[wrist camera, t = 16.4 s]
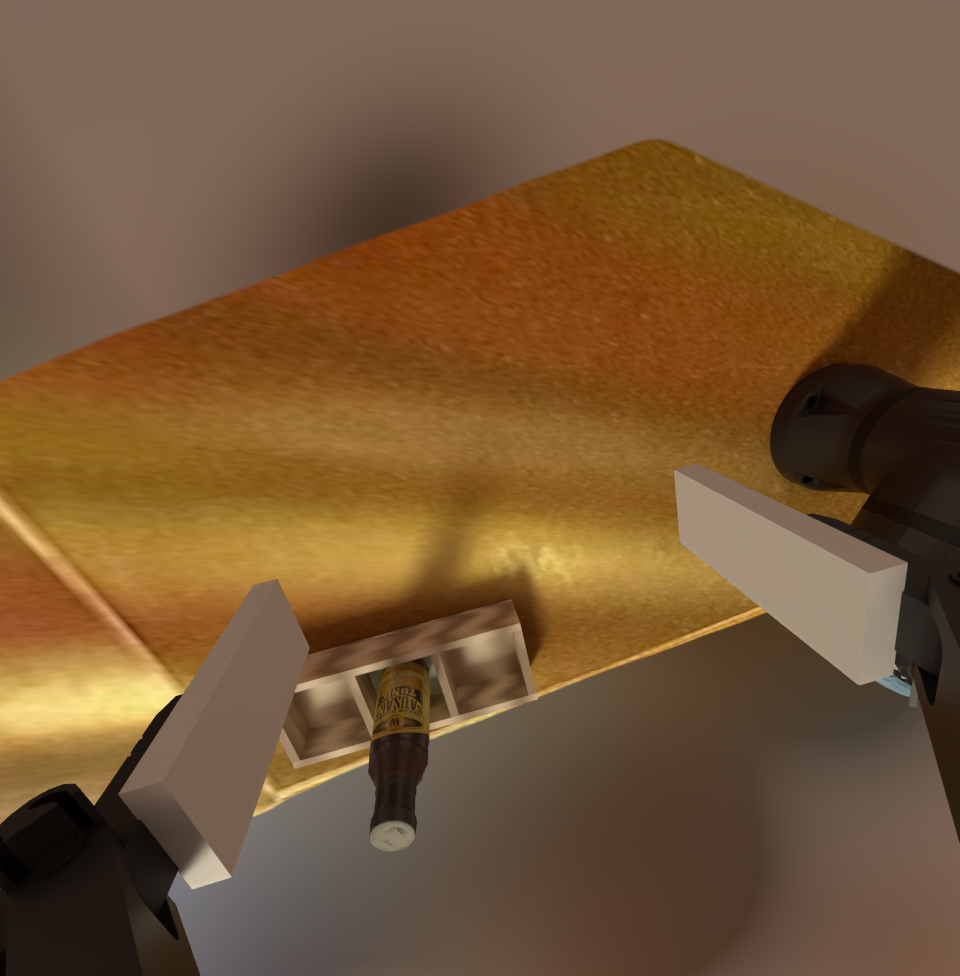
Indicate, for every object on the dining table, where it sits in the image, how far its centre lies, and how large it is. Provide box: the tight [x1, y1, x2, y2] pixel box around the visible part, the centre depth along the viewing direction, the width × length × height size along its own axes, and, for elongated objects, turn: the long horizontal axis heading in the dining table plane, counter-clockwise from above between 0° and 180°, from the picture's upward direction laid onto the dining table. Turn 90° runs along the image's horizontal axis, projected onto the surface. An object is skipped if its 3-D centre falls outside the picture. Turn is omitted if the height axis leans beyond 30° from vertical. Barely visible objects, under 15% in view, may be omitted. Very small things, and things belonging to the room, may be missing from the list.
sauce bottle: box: [368, 658, 430, 851], centre depth 48 cm, size 7×6×20 cm
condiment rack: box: [279, 599, 538, 769], centre depth 55 cm, size 31×12×5 cm, turn 102°
